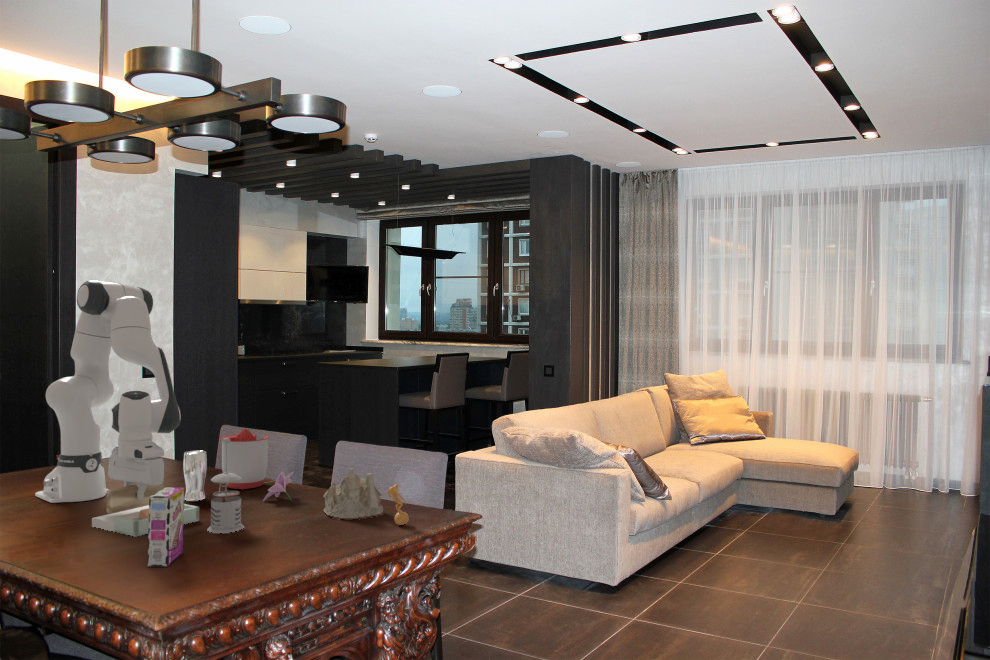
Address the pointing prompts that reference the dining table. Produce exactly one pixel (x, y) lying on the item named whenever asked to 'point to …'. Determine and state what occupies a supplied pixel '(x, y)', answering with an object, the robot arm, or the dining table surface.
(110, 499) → the bar
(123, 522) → the box
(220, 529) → the french press
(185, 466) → the beer glass
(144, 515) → the terracotta tile
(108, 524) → the plate
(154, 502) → the candy bar box
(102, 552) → the dining table surface
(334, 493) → the castle model
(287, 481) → the lily
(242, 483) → the citrus juicer
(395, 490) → the figurine
